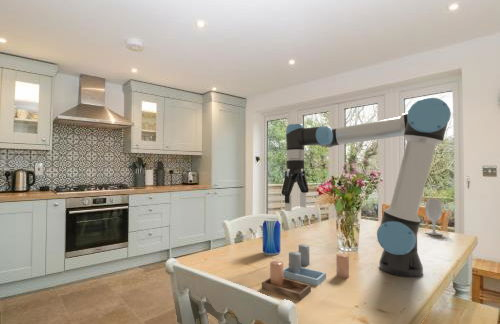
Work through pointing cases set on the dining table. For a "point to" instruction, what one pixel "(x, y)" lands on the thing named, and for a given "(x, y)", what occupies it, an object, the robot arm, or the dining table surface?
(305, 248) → the cylinder
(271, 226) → the beer can
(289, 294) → the trough
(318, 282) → the trough
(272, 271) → the cylinder
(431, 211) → the wineglass
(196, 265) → the dining table surface
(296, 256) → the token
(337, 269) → the cylinder
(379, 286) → the dining table surface
